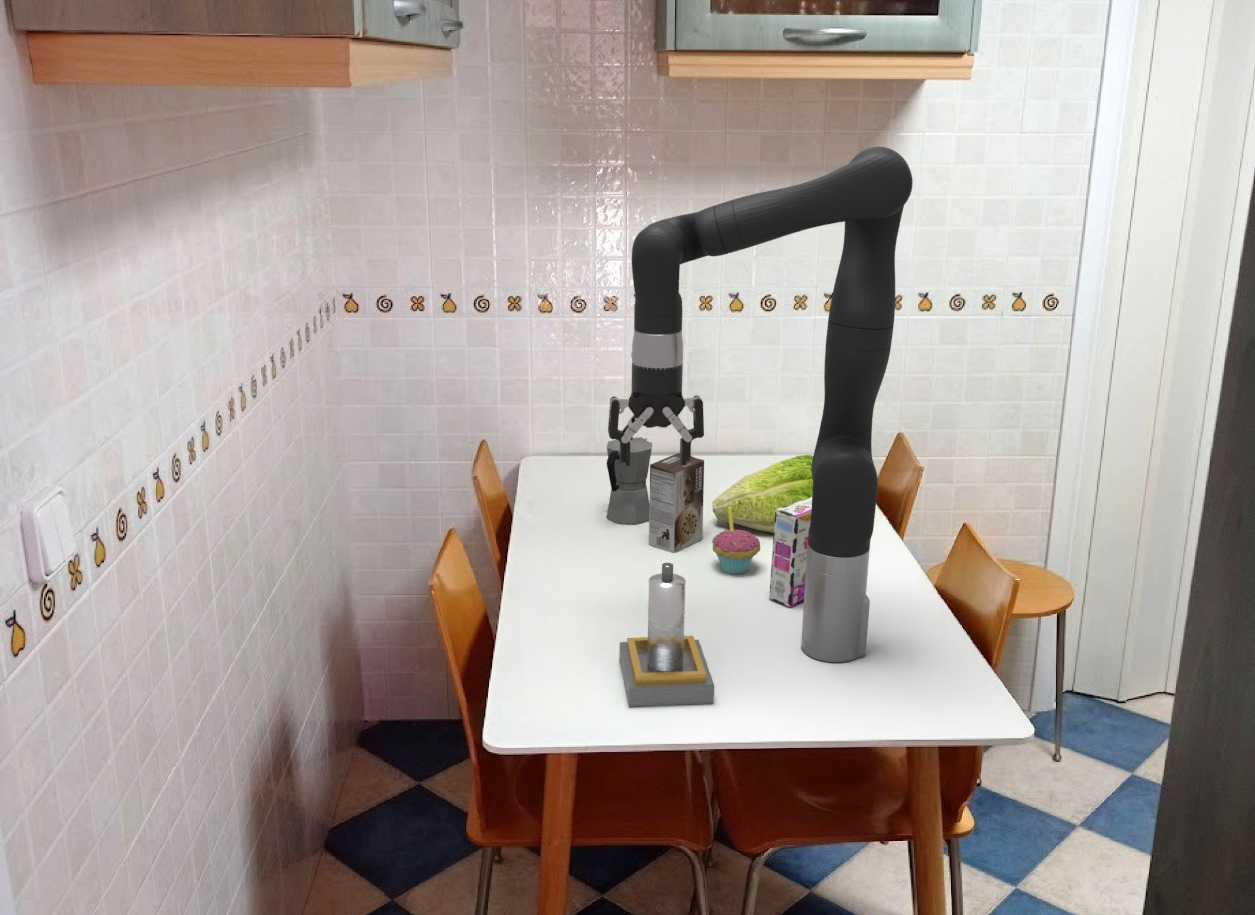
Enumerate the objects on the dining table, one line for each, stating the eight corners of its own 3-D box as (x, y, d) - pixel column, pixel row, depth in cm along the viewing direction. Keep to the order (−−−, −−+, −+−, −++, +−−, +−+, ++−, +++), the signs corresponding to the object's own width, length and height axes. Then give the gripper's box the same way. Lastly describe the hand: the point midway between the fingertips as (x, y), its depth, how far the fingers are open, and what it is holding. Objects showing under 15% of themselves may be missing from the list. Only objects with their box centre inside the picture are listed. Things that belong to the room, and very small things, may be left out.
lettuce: (725, 564, 230) (729, 543, 245) (849, 528, 225) (846, 509, 240) (701, 492, 228) (707, 475, 243) (826, 454, 223) (824, 440, 238)
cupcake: (701, 568, 215) (703, 505, 212) (731, 555, 221) (733, 494, 218) (739, 582, 210) (742, 518, 206) (768, 568, 216) (772, 505, 212)
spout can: (680, 653, 178) (683, 557, 173) (685, 670, 173) (688, 571, 168) (645, 654, 177) (647, 558, 173) (649, 671, 172) (651, 572, 168)
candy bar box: (791, 609, 200) (797, 517, 195) (768, 600, 203) (773, 509, 198) (832, 590, 207) (838, 501, 202) (808, 581, 211) (814, 493, 205)
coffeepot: (622, 502, 247) (623, 418, 241) (664, 510, 243) (666, 425, 237) (586, 527, 234) (586, 438, 228) (630, 535, 230) (631, 445, 224)
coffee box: (676, 531, 232) (678, 451, 227) (703, 539, 228) (706, 459, 223) (646, 545, 226) (648, 463, 220) (674, 553, 222) (676, 471, 217)
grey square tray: (697, 657, 183) (698, 632, 182) (713, 703, 170) (714, 677, 169) (619, 660, 182) (619, 635, 181) (628, 707, 169) (629, 680, 167)
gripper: (611, 366, 173) (610, 473, 178) (709, 365, 174) (705, 471, 179) (607, 354, 180) (606, 457, 185) (701, 353, 181) (697, 455, 187)
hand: (655, 464), depth 182 cm, fingers open, 8 cm apart
